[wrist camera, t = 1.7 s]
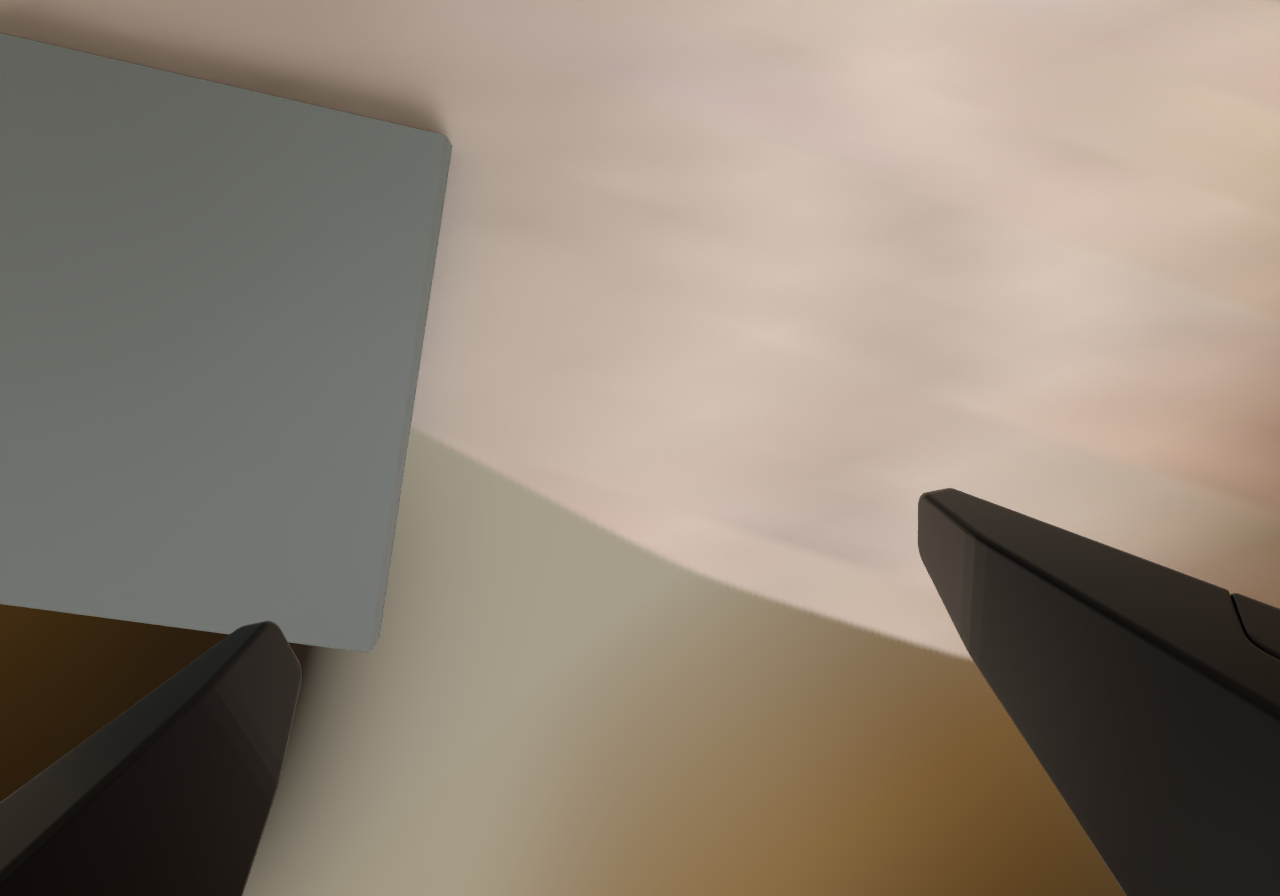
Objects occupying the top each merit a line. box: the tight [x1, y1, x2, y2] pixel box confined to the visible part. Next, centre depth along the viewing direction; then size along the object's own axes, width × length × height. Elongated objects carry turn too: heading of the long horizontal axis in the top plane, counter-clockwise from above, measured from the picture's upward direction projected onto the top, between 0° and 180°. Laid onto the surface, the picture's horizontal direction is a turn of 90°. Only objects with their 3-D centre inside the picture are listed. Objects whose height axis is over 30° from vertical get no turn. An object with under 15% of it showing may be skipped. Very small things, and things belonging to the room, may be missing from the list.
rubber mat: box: [0, 33, 452, 653], centre depth 18 cm, size 14×14×1 cm
